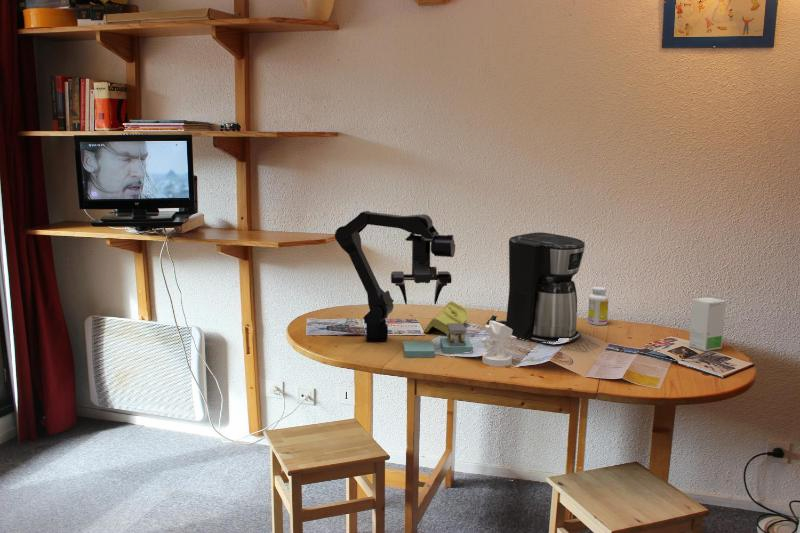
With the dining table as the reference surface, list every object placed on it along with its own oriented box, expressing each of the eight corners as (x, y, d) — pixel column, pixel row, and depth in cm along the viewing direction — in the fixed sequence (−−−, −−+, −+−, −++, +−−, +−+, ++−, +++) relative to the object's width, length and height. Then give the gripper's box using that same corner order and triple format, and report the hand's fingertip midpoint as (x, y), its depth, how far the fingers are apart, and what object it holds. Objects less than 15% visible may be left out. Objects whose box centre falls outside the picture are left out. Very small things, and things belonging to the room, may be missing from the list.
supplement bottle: (608, 322, 243) (610, 287, 241) (605, 326, 237) (607, 290, 235) (589, 319, 246) (591, 285, 244) (585, 324, 240) (587, 288, 238)
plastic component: (456, 330, 223) (430, 315, 225) (447, 348, 225) (421, 333, 227) (472, 312, 241) (447, 298, 243) (463, 329, 243) (439, 315, 245)
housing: (449, 346, 207) (449, 330, 206) (446, 338, 215) (447, 323, 214) (465, 345, 207) (466, 330, 206) (462, 338, 215) (462, 323, 214)
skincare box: (704, 352, 209) (709, 303, 206) (686, 346, 215) (691, 298, 212) (722, 348, 213) (727, 300, 210) (704, 342, 219) (709, 296, 216)
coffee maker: (575, 349, 211) (581, 242, 205) (475, 338, 222) (477, 236, 216) (583, 330, 232) (589, 233, 226) (491, 321, 243) (494, 228, 237)
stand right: (443, 353, 206) (443, 347, 206) (440, 343, 216) (440, 337, 216) (472, 353, 206) (472, 346, 206) (468, 343, 216) (468, 337, 216)
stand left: (404, 357, 202) (404, 351, 201) (403, 347, 212) (403, 341, 211) (434, 357, 202) (434, 351, 202) (431, 347, 212) (432, 341, 212)
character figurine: (476, 359, 200) (477, 320, 198) (502, 355, 205) (503, 316, 203) (494, 368, 193) (495, 327, 191) (520, 363, 197) (522, 323, 195)
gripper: (391, 259, 202) (391, 310, 205) (453, 259, 203) (452, 310, 206) (391, 253, 213) (390, 301, 216) (449, 253, 214) (449, 301, 217)
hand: (420, 304), depth 213 cm, fingers open, 9 cm apart
